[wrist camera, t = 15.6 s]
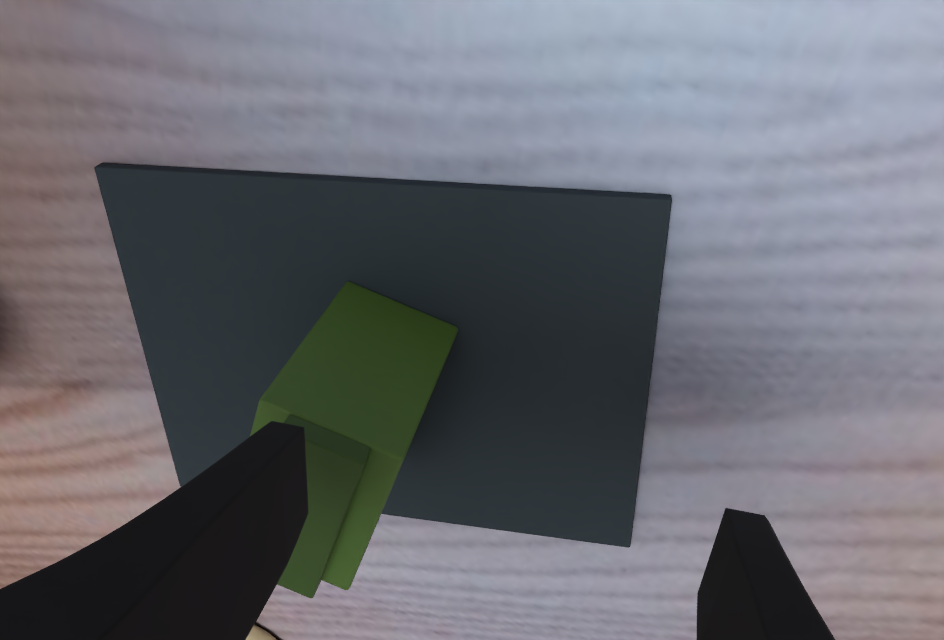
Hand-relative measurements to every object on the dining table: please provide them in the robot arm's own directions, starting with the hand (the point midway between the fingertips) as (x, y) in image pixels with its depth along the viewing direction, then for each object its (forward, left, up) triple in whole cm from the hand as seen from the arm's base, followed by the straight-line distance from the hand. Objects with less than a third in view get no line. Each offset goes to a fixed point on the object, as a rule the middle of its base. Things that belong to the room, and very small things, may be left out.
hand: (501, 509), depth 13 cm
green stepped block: (-6, +3, -9) cm, 11 cm away
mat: (-6, +3, -9) cm, 11 cm away
